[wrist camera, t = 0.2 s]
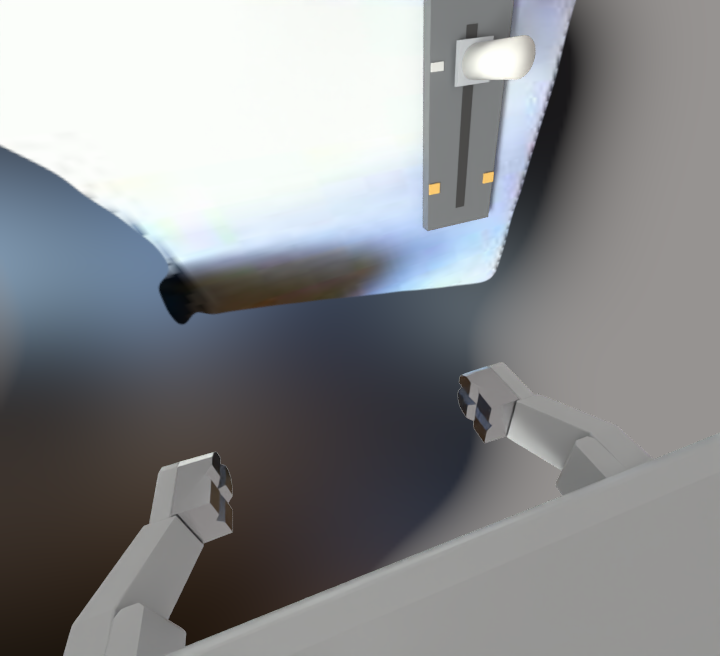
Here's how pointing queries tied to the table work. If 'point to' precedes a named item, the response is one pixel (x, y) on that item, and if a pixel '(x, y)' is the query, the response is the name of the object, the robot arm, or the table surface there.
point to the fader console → (459, 112)
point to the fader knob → (493, 59)
